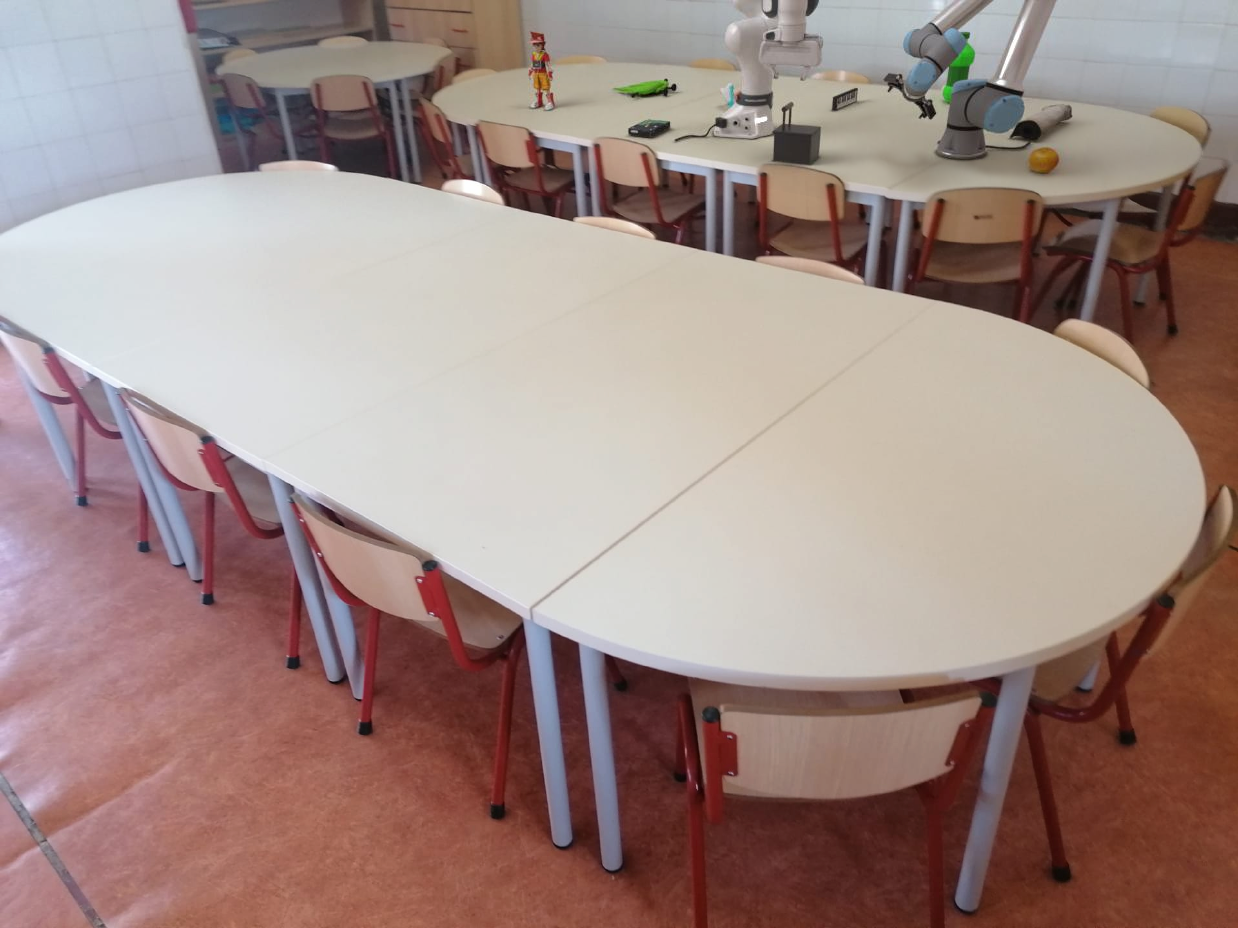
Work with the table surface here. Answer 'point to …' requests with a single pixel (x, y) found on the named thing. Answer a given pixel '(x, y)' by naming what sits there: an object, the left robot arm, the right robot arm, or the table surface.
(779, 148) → the chest
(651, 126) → the disk drive
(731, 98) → the anatomical model
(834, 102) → the midi keyboard
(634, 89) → the toy
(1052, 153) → the fruit
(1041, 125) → the rolled mat
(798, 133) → the lid
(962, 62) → the plastic bottle
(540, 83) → the toy
